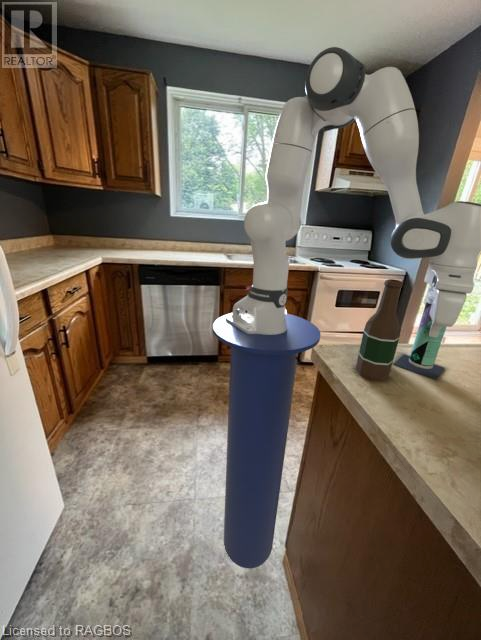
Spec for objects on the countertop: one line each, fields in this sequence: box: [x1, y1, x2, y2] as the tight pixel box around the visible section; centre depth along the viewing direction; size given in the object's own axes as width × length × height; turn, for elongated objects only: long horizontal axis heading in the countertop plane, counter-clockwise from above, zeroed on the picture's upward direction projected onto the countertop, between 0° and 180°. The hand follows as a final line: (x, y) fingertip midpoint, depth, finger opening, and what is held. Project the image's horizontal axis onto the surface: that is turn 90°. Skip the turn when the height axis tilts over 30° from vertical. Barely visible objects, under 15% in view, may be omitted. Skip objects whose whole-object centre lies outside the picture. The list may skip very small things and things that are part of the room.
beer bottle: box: [355, 278, 404, 382], centre depth 65 cm, size 8×8×24 cm
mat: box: [393, 353, 445, 381], centre depth 74 cm, size 10×9×1 cm
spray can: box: [409, 296, 447, 369], centre depth 68 cm, size 6×6×20 cm
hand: (430, 331), depth 68 cm, fingers closed on spray can, 5 cm apart
